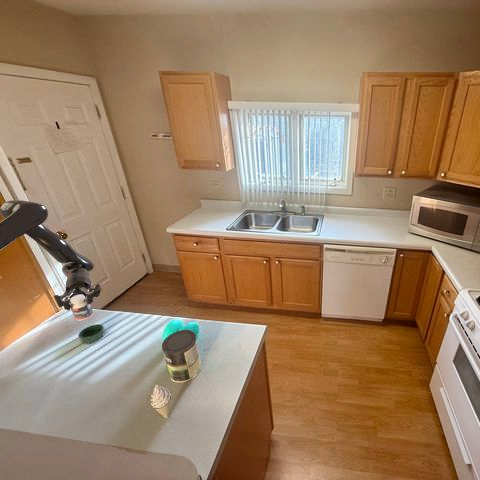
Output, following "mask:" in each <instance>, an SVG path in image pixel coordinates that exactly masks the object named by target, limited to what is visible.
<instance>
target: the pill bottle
mask: <svg viewBox="0 0 480 480" xmlns="http://www.w3.org/2000/svg"><path fill="white" fill-rule="evenodd" d="M70 301H71V304H70V311H71V312H72V314H73V317H74V319H75V320H76V321H79V322H80V321H86V320H88V319H91V317H92V316H93V315H94V311H93V308H92V306H91V304H88V301H87V298H85V296H84V295H76V296H74V297H72V298H71V299H70Z"/></svg>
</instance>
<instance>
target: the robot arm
mask: <svg viewBox="0 0 480 480" xmlns="http://www.w3.org/2000/svg"><path fill="white" fill-rule="evenodd" d="M0 216H1V217H2V220H1V221H0V251H2V250H4V249H5V248H6V247H8V246H10V244H12V243H13V242H15V241H16V240H18V239H19V238H21V237H22V236H24V235H26V236H28V237H29V238H30V239H32V240H33V241H34V242H35V243H37V244H38V245H39V246H40V247H41V248H42V249H44V250H45V252H47V253H48V254H49V255H50V256H51V257H52V258H53V259H54V260H55V261H56V262H58V263H59V264H64V265H63V266H62V268H61V271H62V273H63V275H64V276H65V277H66V280H65V291H64V292H63V294H61V295H59V294H54V295H53V299H54V301H55V302H56V305H57V306H58V308H62V307H63V309H64V310H65V311H71V307H70V305H71V304H72V303H71V301H70V299H71V298H72V297H74V296H76V295H84V296H85V299H87V301H88V304H90V305H92V303H94V298H98V297H100V294H101V292H102V286H101V284H100V283H97V284H96V285H95V286H92V281H91V277H90V272H91V271H93V270H94V268H95V264H94V262H93V261H92V260H91V259H90V258H88V257H87V256H84V255H82V254H81V253H79V252H77V251H76V249H74V248H73V246H71V245H70V244H69V242H67V241H66V240H65V239H64V238H62V237H61V236H60V235H58V234H57V233H55V232H53V231H52V230H50V229H49V228H47V226H45V225H44V223H45V222H46V221H47V219H48V217H49V210H48V208H47V207H46V206H44V205H43V204H41V203H39V202H34V201H27V200H21V199H12V200H11V199H10V200H7V201H5V202H4V203H2V204H1V205H0Z"/></svg>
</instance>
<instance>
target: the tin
mask: <svg viewBox="0 0 480 480" xmlns="http://www.w3.org/2000/svg"><path fill="white" fill-rule="evenodd" d="M105 335H106V329H105V328H104V326H103V324H92V325H88V326H86V327H85V328H83V329H82V330H80V331H79V333H78V335H77V336H78V339H79V341H80V342H81V344H83V345H88V344H93V343H96V342H98V341H100V340H102V339H103V338H104V337H105ZM99 339H100V340H99Z"/></svg>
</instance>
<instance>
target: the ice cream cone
mask: <svg viewBox="0 0 480 480" xmlns="http://www.w3.org/2000/svg"><path fill="white" fill-rule="evenodd" d="M150 397H151V398H150V399H149V401H150V402H149V403H150V405H151V408H152V409H154V410H155V411H156V412H158V414H160V415H161V416H162V417H163V418H165V419H168V418H169V414H170V406H171V400H172V397H173V396H172V393H171V392H170V390H169V389H168V388H166V387H163V386H161V385H158V384H157V383H156V384H155V385H154V388H153V392H152V394H151V395H150Z"/></svg>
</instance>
